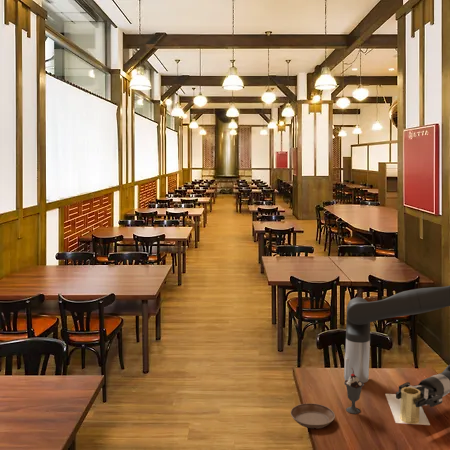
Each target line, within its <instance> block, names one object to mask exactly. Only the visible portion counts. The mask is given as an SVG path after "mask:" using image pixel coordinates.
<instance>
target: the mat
mask: <svg viewBox="0 0 450 450" xmlns="http://www.w3.org/2000/svg"><path fill="white" fill-rule="evenodd" d="M385 398H386V400H387V403H388V406H389V407H390V411H391V413H392V417H393V420H394V422H395V424H406V425H411V424H410V423H405V422H403V421H402V420H401V419H400V406H401V398H400V399H397V398H396V393H385ZM415 425H423V426H431V423H430V421H429V419H428V417H427V415H426V413H425V412H424V409H423V406H421V407H420V416H419V422H418V423H416V424H415Z"/></svg>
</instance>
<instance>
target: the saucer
mask: <svg viewBox="0 0 450 450" xmlns="http://www.w3.org/2000/svg"><path fill="white" fill-rule="evenodd" d="M290 415H291V417H292V418H293V420H294V421H295V422H296V423H298V424H299V425H300V426H302V427H305V428H308V429H314V428H316V429H323V428H325V427H328V426H329V425H330V424H331V423H332V422H333V421H334V420H335V417H336V415H335V412H334V411H333V410H332V409H331V408H329V407H328V406H325V405H322V404H320V403H311V402H310V403H301V404H297V405H295V406H294V407H292V408H291V410H290Z"/></svg>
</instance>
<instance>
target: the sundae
mask: <svg viewBox="0 0 450 450" xmlns="http://www.w3.org/2000/svg"><path fill="white" fill-rule="evenodd" d="M352 370H353V368H352ZM343 384H344V386H345V387H346V395H347V399H349V401H350V402H351V406H348V407H346V409H345V410H346V412H347V413H348V414H352V415H357V414H359V413H361V410H360V408H359V407H356V403H357V402H358V401H359V400H360V397H361V394H362V393H361V391H362V388H363V387H364V386H365V384H364V383H362V382H361V381H359V380H358V378H357V377H356V376H355V374H354V371H353V374H351V377H350V378H349V380H345V379H344V382H343Z"/></svg>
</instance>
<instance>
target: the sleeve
mask: <svg viewBox="0 0 450 450" xmlns="http://www.w3.org/2000/svg"><path fill="white" fill-rule="evenodd" d="M420 396H421V392H420V391H419V390H418V389H416V388H412V387H404V388H402V389H401V406H400V419H401V420H402V421H403V422H405V423H410V424H409V425H417V424H416V423H418V422H419V416H420V407H416V406H415V405H416V400H418V399H420Z"/></svg>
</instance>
